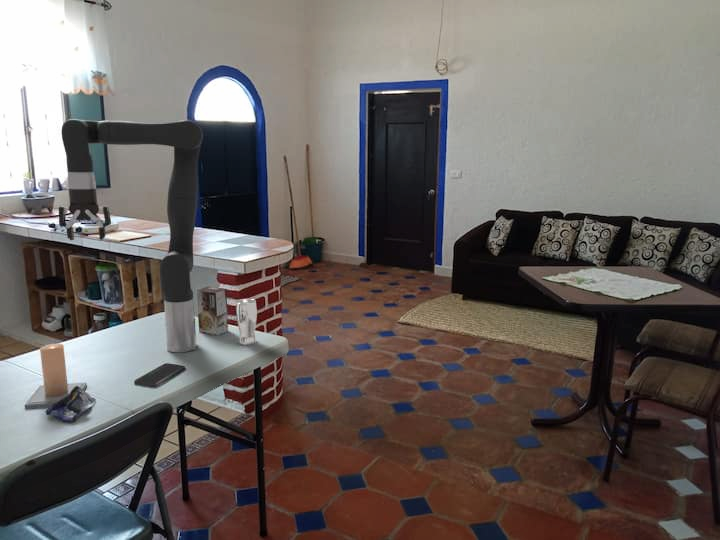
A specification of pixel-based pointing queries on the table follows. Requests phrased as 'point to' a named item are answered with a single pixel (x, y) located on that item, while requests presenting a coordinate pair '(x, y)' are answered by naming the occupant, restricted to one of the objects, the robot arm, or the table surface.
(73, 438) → the table surface
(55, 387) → the peach tall cylinder
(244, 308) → the beer glass
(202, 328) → the coffee box
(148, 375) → the phone
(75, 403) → the snack package
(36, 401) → the coaster
